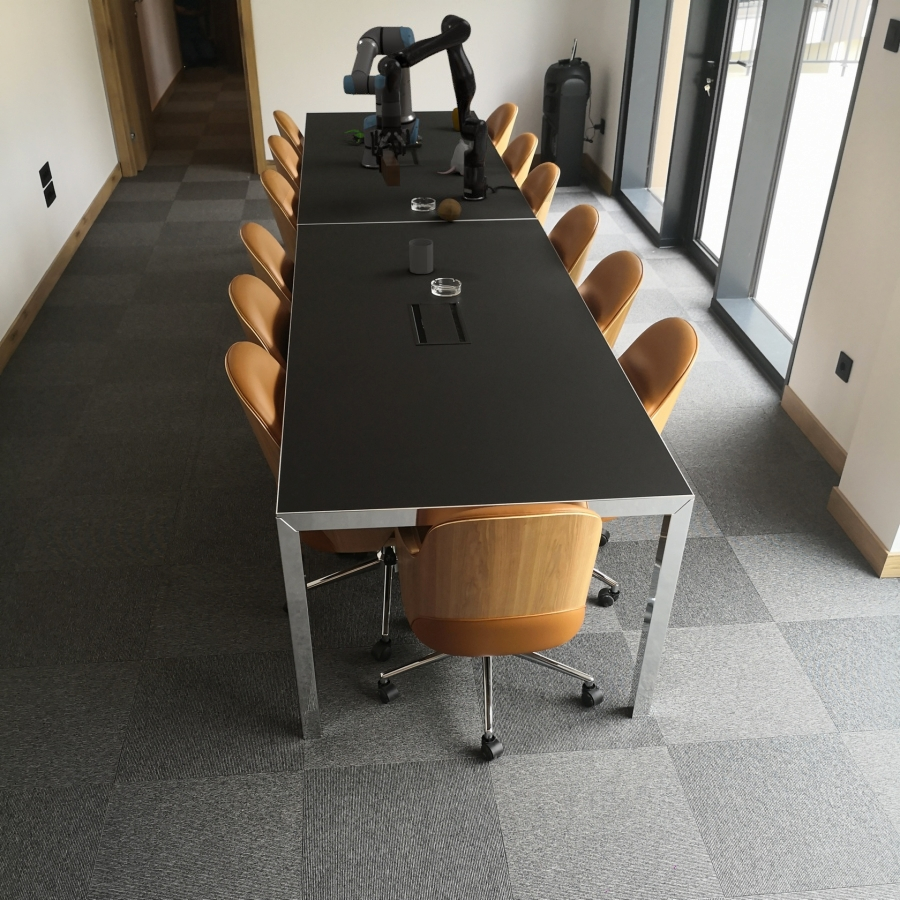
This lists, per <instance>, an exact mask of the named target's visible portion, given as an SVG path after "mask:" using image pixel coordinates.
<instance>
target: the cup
mask: <svg viewBox="0 0 900 900" xmlns="http://www.w3.org/2000/svg"><path fill="white" fill-rule="evenodd" d="M408 253H409V272H411V273H412V274H416V275H426V274H430V273H432V272H434V241H433V240H431V239H428V238H422V237H421V238H420V237H419V238H414V239H411V240H410V241H409V242H408Z"/></svg>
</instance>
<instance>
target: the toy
mask: <svg viewBox="0 0 900 900" xmlns="http://www.w3.org/2000/svg"><path fill="white" fill-rule="evenodd" d="M458 142H459V143H457V145H456V146H455V149H454V152H453V155H452V159H451V160H450V169H448V170H446V171H443V172H441V171H437V174H441V175H448V174H450V173H453V174H455V173H456V172H457V173H460V175H461V176H464V151H465V150H467V149H471V148H472V141H469V144H466V143H465V142H464V139H463V138H460V139H459V141H458Z"/></svg>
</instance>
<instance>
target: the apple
mask: <svg viewBox="0 0 900 900" xmlns="http://www.w3.org/2000/svg"><path fill="white" fill-rule="evenodd" d="M470 112H471V113H472V111H471V110H470ZM451 121H452V125H453V128H454V129H455V131H457V132H460V129H459V119H458V109H457V107H454V108H452V111H451Z"/></svg>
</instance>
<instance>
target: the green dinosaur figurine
mask: <svg viewBox="0 0 900 900" xmlns="http://www.w3.org/2000/svg"><path fill="white" fill-rule="evenodd" d="M351 132H352V134H351V136H352V140H353V141H355V142H351V141H347V140H344V139H343V142H345V143H346V144H348V145H352V146H359V145H360V144H361V143H365V141H364V132H362V131H361V130H360V129H349V130H346V131H345V132H344V134H347V133H351ZM353 132H356V133H354V134H353Z"/></svg>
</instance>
